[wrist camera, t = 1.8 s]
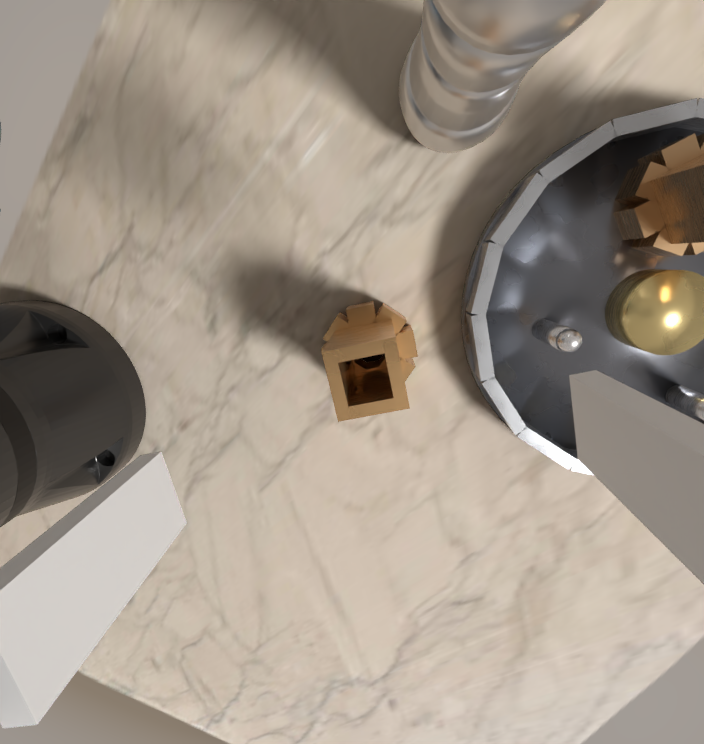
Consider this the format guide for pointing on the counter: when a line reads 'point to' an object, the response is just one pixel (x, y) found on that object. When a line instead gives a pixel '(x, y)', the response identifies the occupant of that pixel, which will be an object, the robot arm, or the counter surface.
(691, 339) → the bowl
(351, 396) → the hollow wooden square post
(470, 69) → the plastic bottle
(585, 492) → the counter surface
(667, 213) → the tan square tube
